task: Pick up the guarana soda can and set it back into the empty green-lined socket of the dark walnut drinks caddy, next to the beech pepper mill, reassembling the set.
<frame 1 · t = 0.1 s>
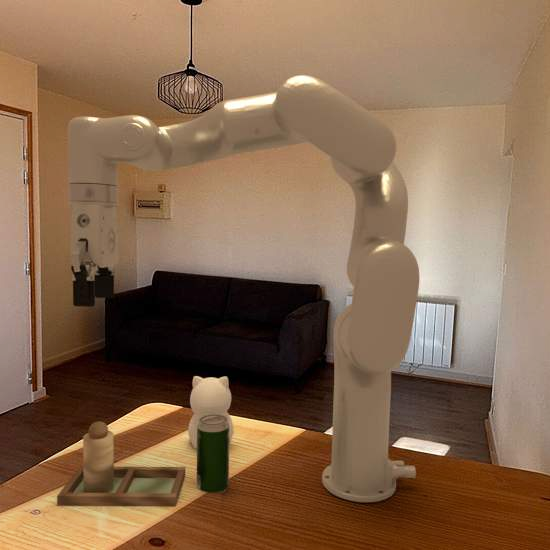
hand: (95, 301, 81), 31 cm above the table, fingers open, 9 cm apart
cat figurine: (211, 446, 99), on the table
pepper mill: (99, 489, 80), point 1 cm above the table, touching caddy
guarana soda can: (212, 490, 82), on the table
caddy: (125, 494, 80), on the table
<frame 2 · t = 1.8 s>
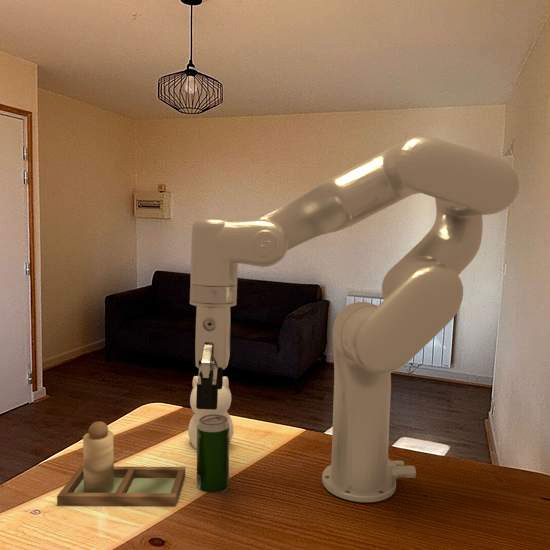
hand: (210, 398, 81), 16 cm above the table, fingers open, 9 cm apart
nothing on the table moved.
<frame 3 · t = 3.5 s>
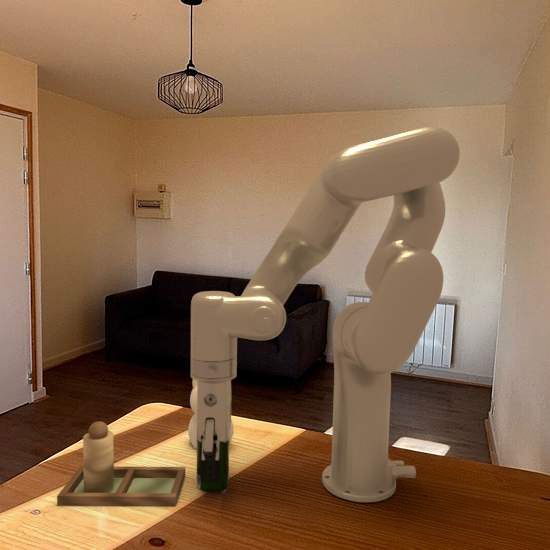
hand: (212, 471, 82), 3 cm above the table, fingers closed on guarana soda can, 5 cm apart
guarana soda can: (212, 490, 82), on the table, touching gripper
everything else where it was.
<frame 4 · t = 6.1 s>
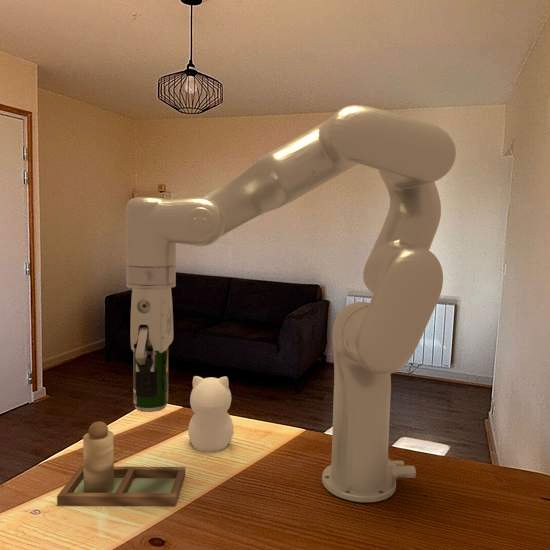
hand: (151, 388, 79), 18 cm above the table, fingers closed on guarana soda can, 5 cm apart
guarana soda can: (151, 407, 79), point 15 cm above the table, touching gripper
everything else where it was.
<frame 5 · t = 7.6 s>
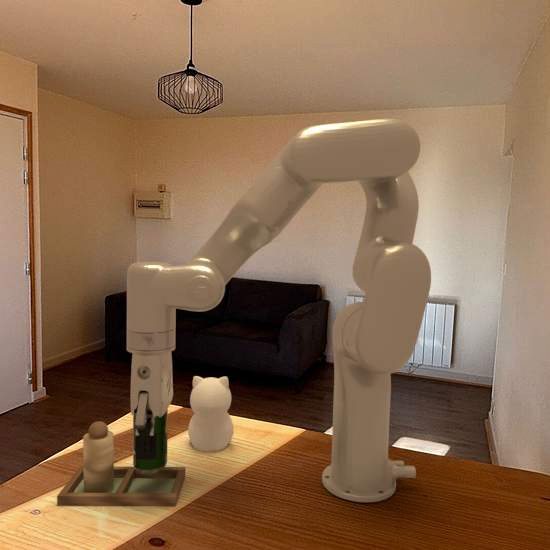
hand: (150, 448, 79), 8 cm above the table, fingers closed on guarana soda can, 5 cm apart
guarana soda can: (150, 467, 80), point 5 cm above the table, touching gripper
everything else where it was.
when the fingers open (5 cm above the table, at t = 8.7 s): guarana soda can drops 1 cm, resting on caddy.
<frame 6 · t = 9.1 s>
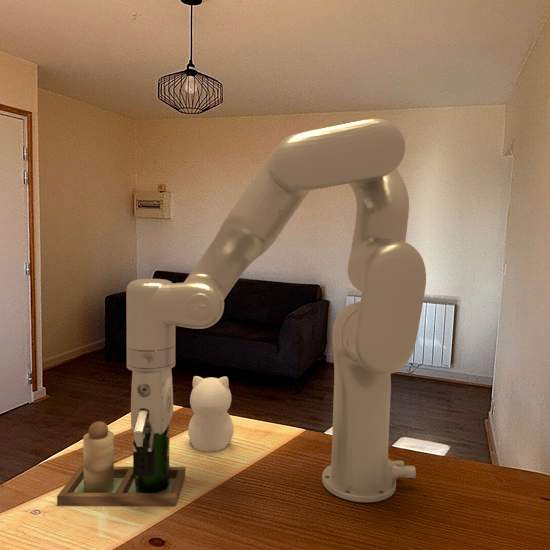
hand: (151, 460, 80), 6 cm above the table, fingers open, 9 cm apart
guarana soda can: (152, 490, 80), point 1 cm above the table, touching caddy
everything else where it was.
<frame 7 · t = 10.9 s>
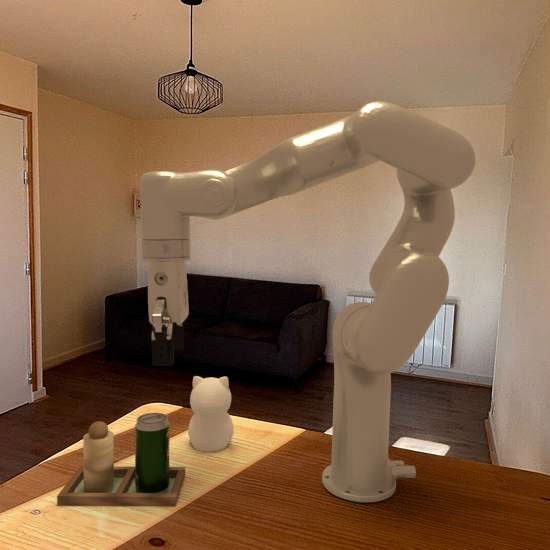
hand: (168, 357, 79), 23 cm above the table, fingers open, 9 cm apart
nothing on the table moved.
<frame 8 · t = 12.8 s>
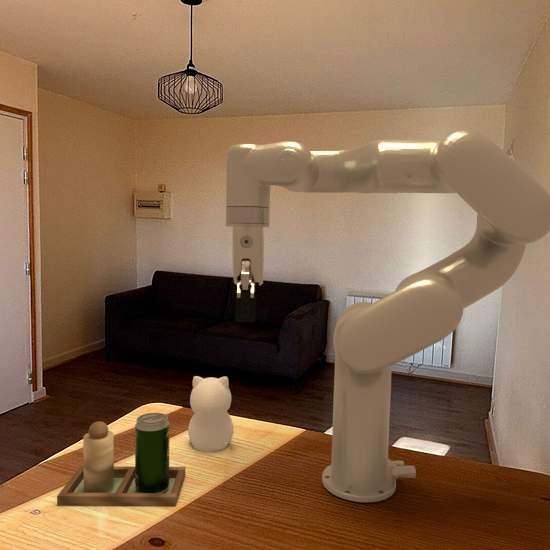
hand: (246, 316, 86), 28 cm above the table, fingers open, 9 cm apart
nothing on the table moved.
at the end: guarana soda can inside the target area on the caddy (0.2 cm from its centre), point 0.7 cm above the caddy's base; guarana soda can tilted 0°; the gripper is holding nothing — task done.
